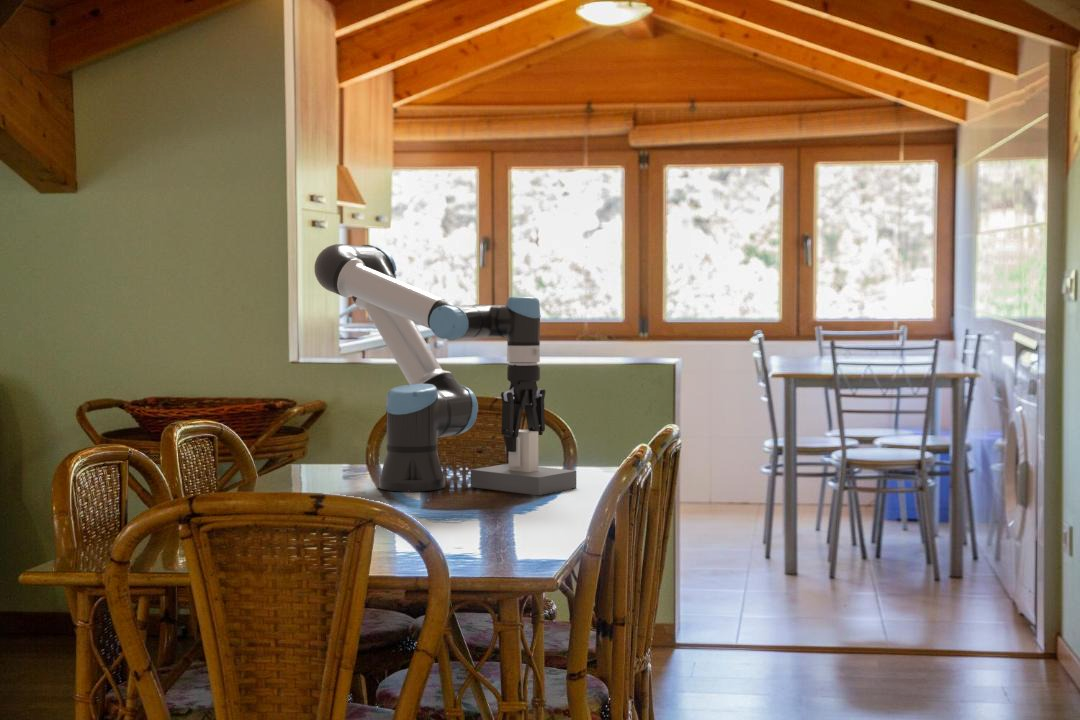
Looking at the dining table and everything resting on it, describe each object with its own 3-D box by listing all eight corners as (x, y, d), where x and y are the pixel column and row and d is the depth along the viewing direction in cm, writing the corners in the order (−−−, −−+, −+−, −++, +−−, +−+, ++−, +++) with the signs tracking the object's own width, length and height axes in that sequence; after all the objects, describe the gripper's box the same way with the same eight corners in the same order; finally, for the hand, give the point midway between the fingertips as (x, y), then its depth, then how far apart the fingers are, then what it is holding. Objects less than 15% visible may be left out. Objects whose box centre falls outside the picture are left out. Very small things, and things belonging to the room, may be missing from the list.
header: (470, 486, 300) (470, 469, 300) (509, 480, 311) (509, 463, 311) (538, 495, 288) (538, 477, 287) (576, 488, 299) (576, 470, 298)
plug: (508, 485, 300) (508, 431, 299) (518, 484, 302) (518, 429, 302) (528, 488, 296) (528, 432, 295) (538, 486, 299) (538, 431, 298)
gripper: (510, 366, 288) (510, 470, 289) (561, 362, 303) (560, 461, 304) (484, 365, 293) (484, 467, 294) (536, 361, 307) (535, 459, 309)
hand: (523, 464), depth 299 cm, fingers open, 6 cm apart
